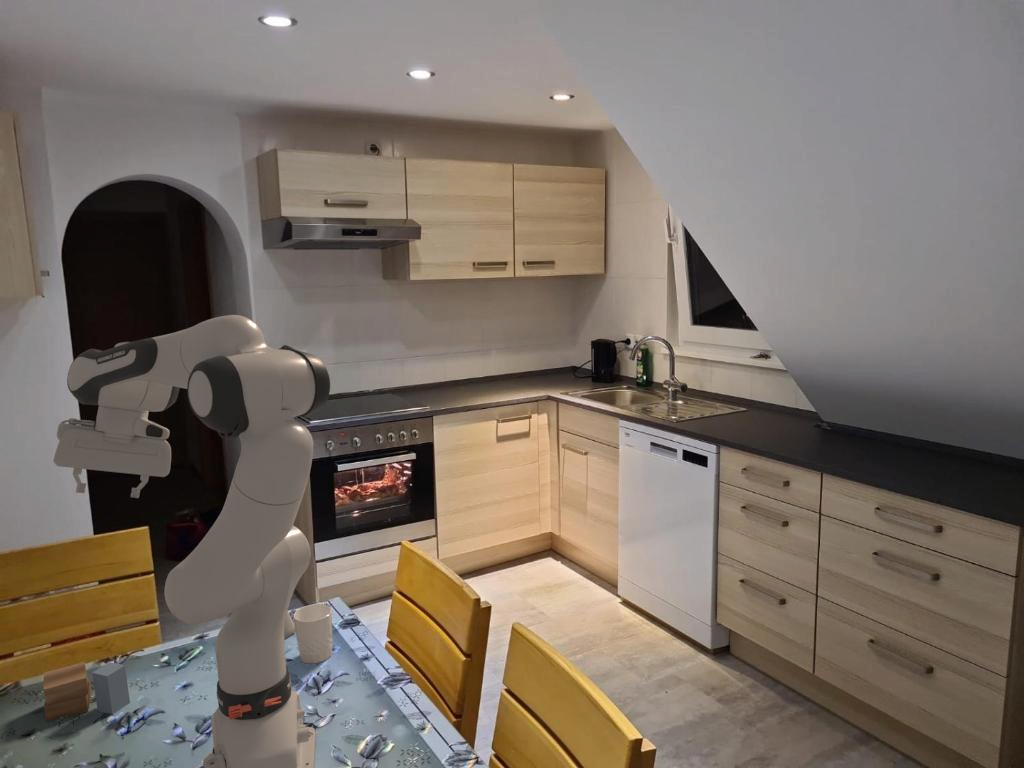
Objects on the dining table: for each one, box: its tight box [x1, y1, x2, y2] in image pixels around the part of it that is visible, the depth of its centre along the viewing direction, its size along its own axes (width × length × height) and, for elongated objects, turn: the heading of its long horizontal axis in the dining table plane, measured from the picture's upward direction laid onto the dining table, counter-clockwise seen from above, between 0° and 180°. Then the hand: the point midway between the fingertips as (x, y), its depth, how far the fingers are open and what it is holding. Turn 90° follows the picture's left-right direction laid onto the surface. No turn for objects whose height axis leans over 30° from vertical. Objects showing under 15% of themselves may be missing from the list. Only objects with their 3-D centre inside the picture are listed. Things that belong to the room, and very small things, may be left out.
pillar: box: [91, 661, 131, 715], centre depth 146 cm, size 4×4×8 cm
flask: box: [284, 611, 296, 640], centre depth 172 cm, size 7×7×10 cm
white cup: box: [293, 603, 333, 664], centre depth 162 cm, size 8×8×10 cm
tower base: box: [43, 678, 93, 722], centre depth 147 cm, size 7×7×4 cm
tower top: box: [43, 661, 88, 707], centre depth 146 cm, size 7×7×4 cm
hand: (107, 495), depth 146 cm, fingers open, 8 cm apart
